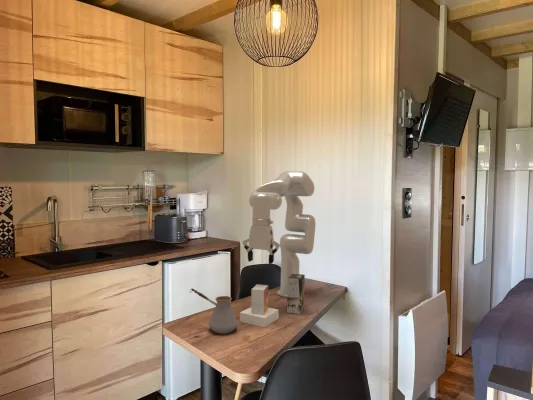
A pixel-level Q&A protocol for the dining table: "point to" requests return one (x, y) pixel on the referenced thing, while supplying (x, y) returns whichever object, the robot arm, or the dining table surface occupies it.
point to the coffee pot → (221, 314)
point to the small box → (259, 299)
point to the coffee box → (295, 293)
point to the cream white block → (259, 317)
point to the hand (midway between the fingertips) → (260, 262)
